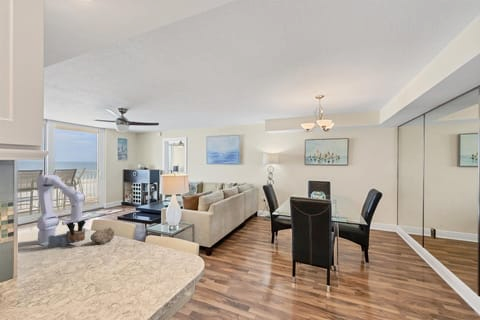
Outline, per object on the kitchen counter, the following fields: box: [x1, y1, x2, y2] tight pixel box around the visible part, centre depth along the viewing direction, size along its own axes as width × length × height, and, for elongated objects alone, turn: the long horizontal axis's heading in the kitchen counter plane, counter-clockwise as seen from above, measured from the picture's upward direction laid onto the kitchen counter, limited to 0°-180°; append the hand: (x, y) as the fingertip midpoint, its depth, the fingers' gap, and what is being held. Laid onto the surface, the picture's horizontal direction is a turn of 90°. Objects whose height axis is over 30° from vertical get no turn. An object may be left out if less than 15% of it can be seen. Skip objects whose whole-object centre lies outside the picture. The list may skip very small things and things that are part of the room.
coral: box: [90, 227, 115, 245], centre depth 139 cm, size 14×9×10 cm, turn 154°
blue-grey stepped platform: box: [47, 227, 86, 249], centre depth 136 cm, size 5×20×7 cm, turn 155°
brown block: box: [66, 229, 85, 243], centre depth 133 cm, size 13×4×5 cm, turn 65°
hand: (75, 233), depth 133 cm, fingers closed on brown block, 3 cm apart
